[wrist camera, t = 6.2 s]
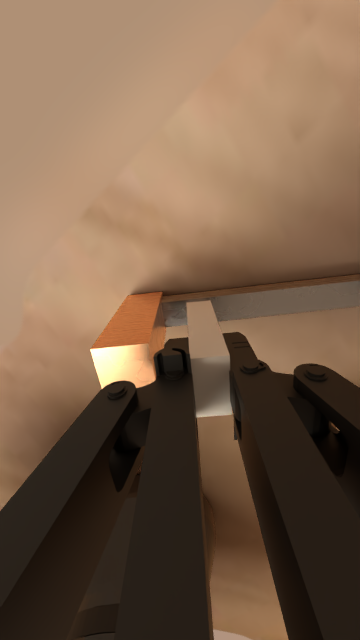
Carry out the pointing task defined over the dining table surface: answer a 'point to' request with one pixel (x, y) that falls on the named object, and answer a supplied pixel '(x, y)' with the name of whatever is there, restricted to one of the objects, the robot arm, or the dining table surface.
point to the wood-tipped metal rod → (228, 304)
